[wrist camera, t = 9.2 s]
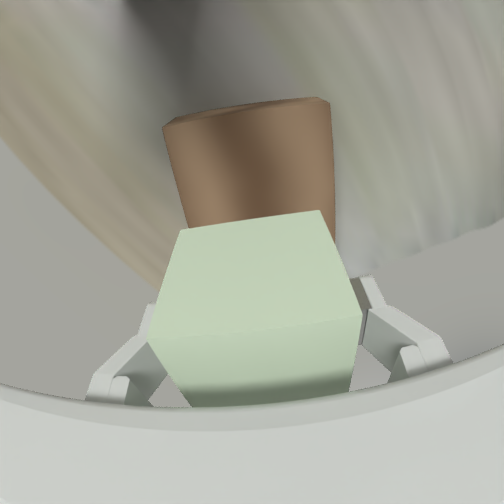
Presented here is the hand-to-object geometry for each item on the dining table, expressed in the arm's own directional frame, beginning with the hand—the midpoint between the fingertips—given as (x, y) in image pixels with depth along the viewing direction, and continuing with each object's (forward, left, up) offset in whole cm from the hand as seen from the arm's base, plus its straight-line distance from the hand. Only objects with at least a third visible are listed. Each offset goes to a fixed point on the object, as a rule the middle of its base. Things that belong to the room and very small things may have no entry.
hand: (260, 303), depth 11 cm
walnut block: (0, 0, -14) cm, 14 cm away
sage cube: (0, 0, -2) cm, 2 cm away
